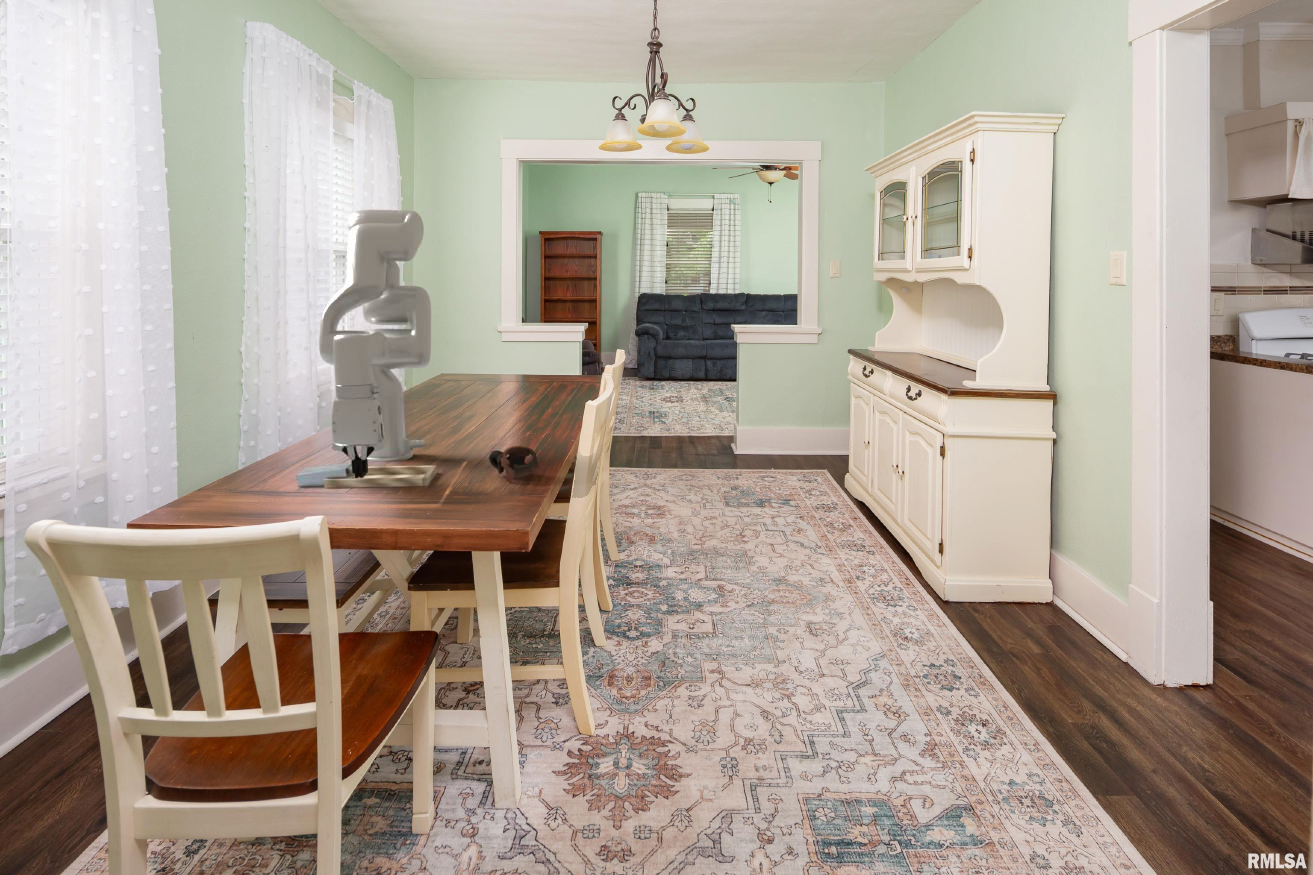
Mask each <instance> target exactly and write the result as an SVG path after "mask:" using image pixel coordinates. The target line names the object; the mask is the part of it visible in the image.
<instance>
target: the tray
mask: <svg viewBox="0 0 1313 875" xmlns="http://www.w3.org/2000/svg"><path fill="white" fill-rule="evenodd" d="M437 466H438V465H396V466H395V465H394V466H393V465H391V466H390V465H389V466H387V465H385V466H383V465H382V466H381V465H380V466H368V473H366V475H365V476H364V477H363V478H360V477H358V478H355V476H354V477H353V478H352V479H325V480H324V486H323V487H324V489H331V488H332V489H334V488H335V489H336V488H379V487H380V488H381V487H384V488H386V487H389V488H391V487H394V488H395V487H428V486H429V485H430V483H431V481H432V480H433V478H434V477H435V476H436V475H437V472H438V469H437Z"/></svg>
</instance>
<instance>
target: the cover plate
mask: <svg viewBox="0 0 1313 875" xmlns="http://www.w3.org/2000/svg"><path fill="white" fill-rule="evenodd" d="M354 476H355V473H352V462H351V461H350V462H344V463H334V464H327V465H326V464H325V465H318V466H310V467H309V466H308V467H304V469H302V470H301V471H300V472H298V473H297V474H296V475H295V477H296V482H297V487H324V480H325V479H352V478H353V477H354Z"/></svg>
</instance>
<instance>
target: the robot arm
mask: <svg viewBox="0 0 1313 875" xmlns="http://www.w3.org/2000/svg"><path fill="white" fill-rule="evenodd" d="M347 227H348V237H347V248H346V249H347V251H346V264H345V279H344V280H345V281H344V282H345V283H344V285H343V287H342V288H341V289H340V290H339V291H338V292H336V294H335V295H334V296H333V297H332V298H331V299H330V300H329V302H328V303H327V305H326V306H325V308H324V310H323V312H322V315H321V319H320V327H319V339H318V341H319V342H318V345H319V346H318V350H319V355H320V357H321V359H322V360H323V361H324V362H325V363H326V364H327V365H332V366H334V367H333V368H334V379H335V380H334V381H335V383H334V384H335V394H336V395H335V398H334V399H333V400H332V401H333V402H332V409H331V410H332V411H331V425H330V427H331V441H332V447H331V449H332V450H333V451H337V452H342V453H344V454H345V455H346V456H347V457H348V458H349V460H350V462H352V473H355V478H358V477H360V478H363V477H364V476H365V475H366V473H368V467H369V462H393V461H406V460H409V459H411V458H412V457H413V455H414V454H413V450H414V449H422V448H423V449H425V448H426V440H425V439H420V440H418V439H409V438H407V437H406V430H405V428H406V427H405V426H406V425H405V408H404V391H403V390H404V389H403V385H402V382H401V381H400V380H399V378H398V377H397V376H396V375H395V374H394V372H393V371H392V370H396V369H398V370H399V369H400V370H401V369H404V370H405V369H423V368H425V367H427V366H428V365H429V363H430V360H431V353H432V306H431V304H432V303H431V298H430V296H429V293H428V291H427V290H426V289H425V288H423V287H421V286H418V285H417V286H416V285H400V284H401V278H400V275H401V272H400V271H401V270H400V267H399V264H398V263H397V262H410V261H411V260H413V259H414V257H415V256H416V255H417V252H418V251H419V248H420V246H421V244H422V242H423V239H424V228H425V227H424V221H423V219H422V217H421V215H420V214H419V213H418V212H417V211H414V210H407V209H404V210H403V209H402V210H401V209H400V210H399V209H362V210H357V211H353V213H351V214H350V215H349V216H348V221H347ZM361 306H362V314H363V317H364V319H365V321H366V322H367V323H369V324H372V325H375V326H376V325H377V326H409V327H411V328H370V329H366V330H338V325H339V324H340V322H341V320H342V319H343V318H344V317H345V315H347V314H349V312H352V311H353V310H355V309H357V308H360V307H361ZM359 446H360V448H361V449H360V453H359V452H358V448H357V447H359Z"/></svg>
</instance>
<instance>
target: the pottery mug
mask: <svg viewBox="0 0 1313 875" xmlns="http://www.w3.org/2000/svg"><path fill="white" fill-rule="evenodd" d="M529 456H532V460H531V461H529V462H528V463H527V462H525V461H526V458H527V457H529ZM488 460H489V462H490V464H491V466H492V467H494V468H495V469H496V470H497V472H498V474H503V473H504V471H505V474H506V475H505V477H504V478H505V481H506V482H508V483H510V484H512V483H513V481H515V480H517V479H521V478H524V477H527V476H531V475H532V473H535V471H536V470H537V469H540V468H541V465H540V463H539V461H538V457H537V453H536V451H535V450H534V449H532V448H531V447H528V446H524V445H514V446H510V447H508V448H506V450H504V451H501V450H492V451H490V454H489V456H488Z"/></svg>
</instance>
